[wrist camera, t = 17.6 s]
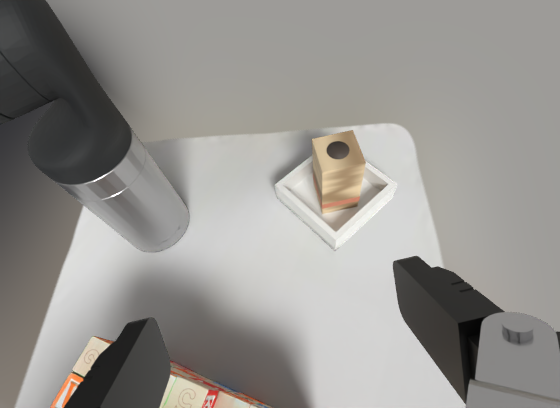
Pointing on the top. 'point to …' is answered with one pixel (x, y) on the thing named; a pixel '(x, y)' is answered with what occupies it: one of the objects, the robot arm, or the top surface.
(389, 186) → the white tray
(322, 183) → the oak block
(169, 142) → the top surface
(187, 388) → the stack of blocks
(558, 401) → the robot arm
